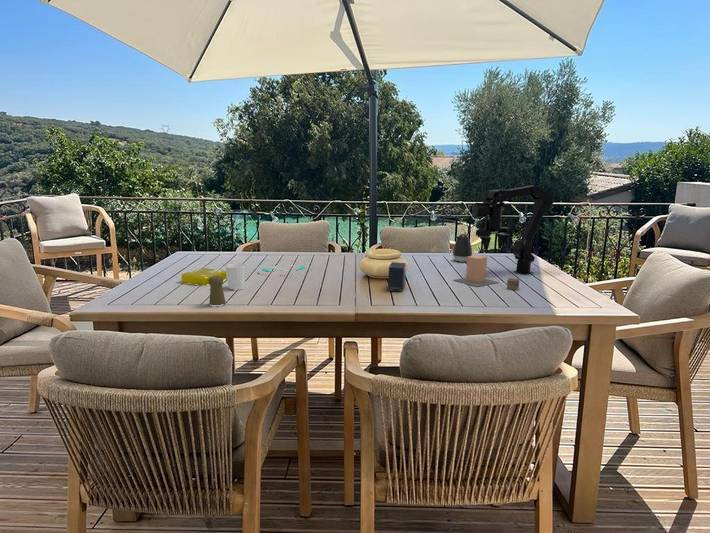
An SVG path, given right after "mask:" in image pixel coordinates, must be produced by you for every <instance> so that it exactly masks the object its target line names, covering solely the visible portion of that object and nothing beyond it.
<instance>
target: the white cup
mask: <svg viewBox="0 0 710 533" xmlns="http://www.w3.org/2000/svg"><path fill="white" fill-rule="evenodd" d="M225 271H226V274H227V286H228V289H229V288H230V289H242V288H244V287H245V288H246V264H244V263H231V264H230V263H229V264H227V265H226V266H225Z"/></svg>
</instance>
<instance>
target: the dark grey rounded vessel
mask: <svg viewBox="0 0 710 533" xmlns="http://www.w3.org/2000/svg"><path fill="white" fill-rule="evenodd" d="M454 238H455V239H456V240H455V243H454V245H453V250H452V256H453V259H454V260H455V261H456V262H457V261H459V262H458V263H467V257H468V256H473V249H472V242H471V240H470V238H469V236H468V234H466V233H460V234H459V235H455V236H454Z"/></svg>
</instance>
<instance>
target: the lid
mask: <svg viewBox="0 0 710 533" xmlns="http://www.w3.org/2000/svg"><path fill="white" fill-rule="evenodd" d="M276 264H277V265H278V264H279V263H276ZM288 266H295V265H286V267H288ZM276 267H285V266H284V265H283V266H271V267H267V268H270V269H276V270H280V271H289V270H287V269H282V268H276ZM300 267H301V268H300V269H297V270H296V271H298V270H302V269H305V268H306V267H304V266H300ZM262 270H263V271H265V272H275V271H269V270H267V269H262Z"/></svg>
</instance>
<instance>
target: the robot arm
mask: <svg viewBox="0 0 710 533" xmlns="http://www.w3.org/2000/svg"><path fill="white" fill-rule="evenodd" d="M528 195H529V197H530V198H531V199H532V200H533V201H534V202H533V210H532V211H533V212H532V214H531V216H530V218H529V221H528V223H527V225H526V227H525V229H524V232H523V234H522V236H521V238H520V239H519V240H518V239H516V240H515V241H514V242H513V243H514V244H513V245H512V247H511V248H512V249H511V251H512V252H511V253H512V254H513V256H514V259H515V260H516V270H514V271H513V273H515V274H516V273H517V274H522V275H528V274H529V275H530V274H533V273H534V271H531V268H532V267H531V265H532V263H533V262H534V261H535V258H536V257H535V256H534V254H532V253H531V252H532V249H533V248H532V246H533V244H532V243H533V242H532V241H533V239H534V237H535V235H536V233H537V231H538V228H539V226H540V224H541V221H542V219H543V217H544V215H545V214H546V213H547V212H548V211H549V210H550V209H551V207H552V206H553V204H554V202H555V200H554V197H553V195H551V194H548V193H547V192H545V191H544V190H542V189H541V188H539V187H538V186H537V185H533V184H529V185H526V186H522V187H515V188H510V189H491V190H489V192H488V194H487V196H486V197H485V199H484V200H483V202H475V203H474V206H473V207H472V209H471V210H472V211H471V212H472V217H473V218H486V219H485V222H482V221H480V220H479V221H477V222H476V223H475V228H476V231H475V236H476V237H478V238H479V239H480V240H481V241H482V244H483V249H484V251H485V252H487V251H488V250H489V247H490V243H491V239H492V237H491V236H492V235H496V237H497V249H498V250H501V248H502V247H503V245H504V244H505V242H506V240H507V239H508V237H510V235H511V234H512V232H513V231H512V229H511V227H506V226H502V225H501V224H502V222H504V219H503V218H502V212H503V208H507V204H505V203H504V202H506V201H507V200H509V199H511V198H516V197H517V198H518V197H524V196H528Z"/></svg>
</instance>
